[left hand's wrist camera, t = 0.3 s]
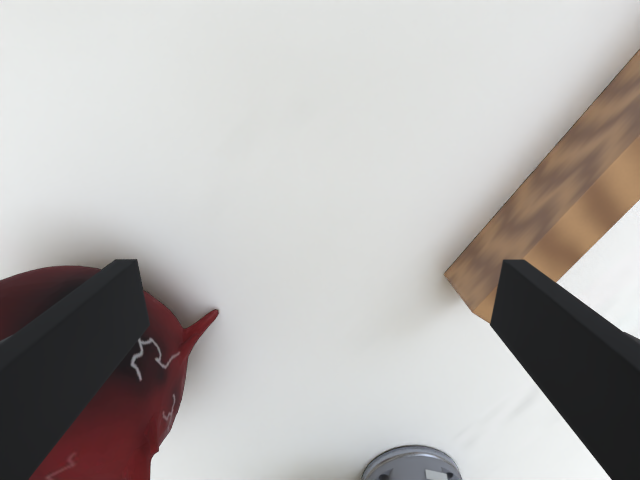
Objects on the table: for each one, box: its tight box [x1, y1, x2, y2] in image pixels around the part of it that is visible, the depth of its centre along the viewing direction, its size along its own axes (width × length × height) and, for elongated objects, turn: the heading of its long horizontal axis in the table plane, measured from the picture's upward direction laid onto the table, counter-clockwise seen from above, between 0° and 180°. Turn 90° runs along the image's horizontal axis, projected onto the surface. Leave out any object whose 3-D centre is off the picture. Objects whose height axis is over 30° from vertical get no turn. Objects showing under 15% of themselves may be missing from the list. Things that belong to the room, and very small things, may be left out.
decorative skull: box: [0, 266, 219, 480], centre depth 36 cm, size 21×24×25 cm
